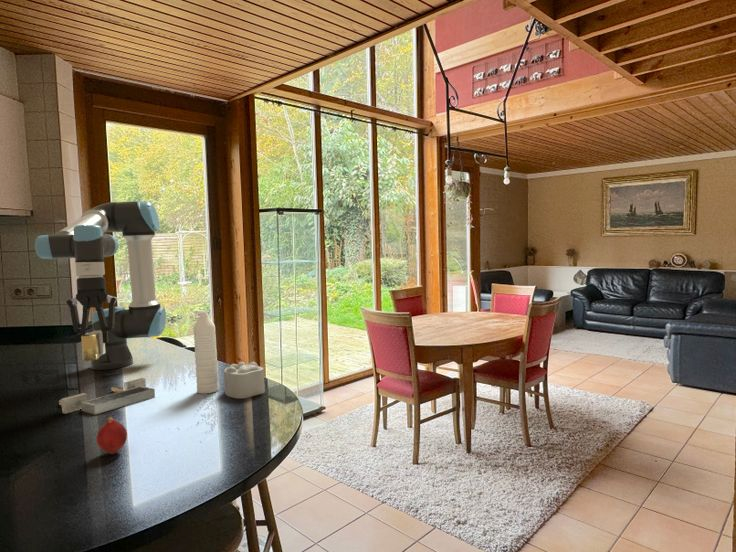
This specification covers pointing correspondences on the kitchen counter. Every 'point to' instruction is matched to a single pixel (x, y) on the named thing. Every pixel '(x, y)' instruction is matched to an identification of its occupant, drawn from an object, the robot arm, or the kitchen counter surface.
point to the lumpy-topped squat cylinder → (244, 380)
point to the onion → (111, 436)
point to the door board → (109, 398)
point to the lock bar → (91, 346)
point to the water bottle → (205, 354)
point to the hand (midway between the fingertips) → (96, 354)
